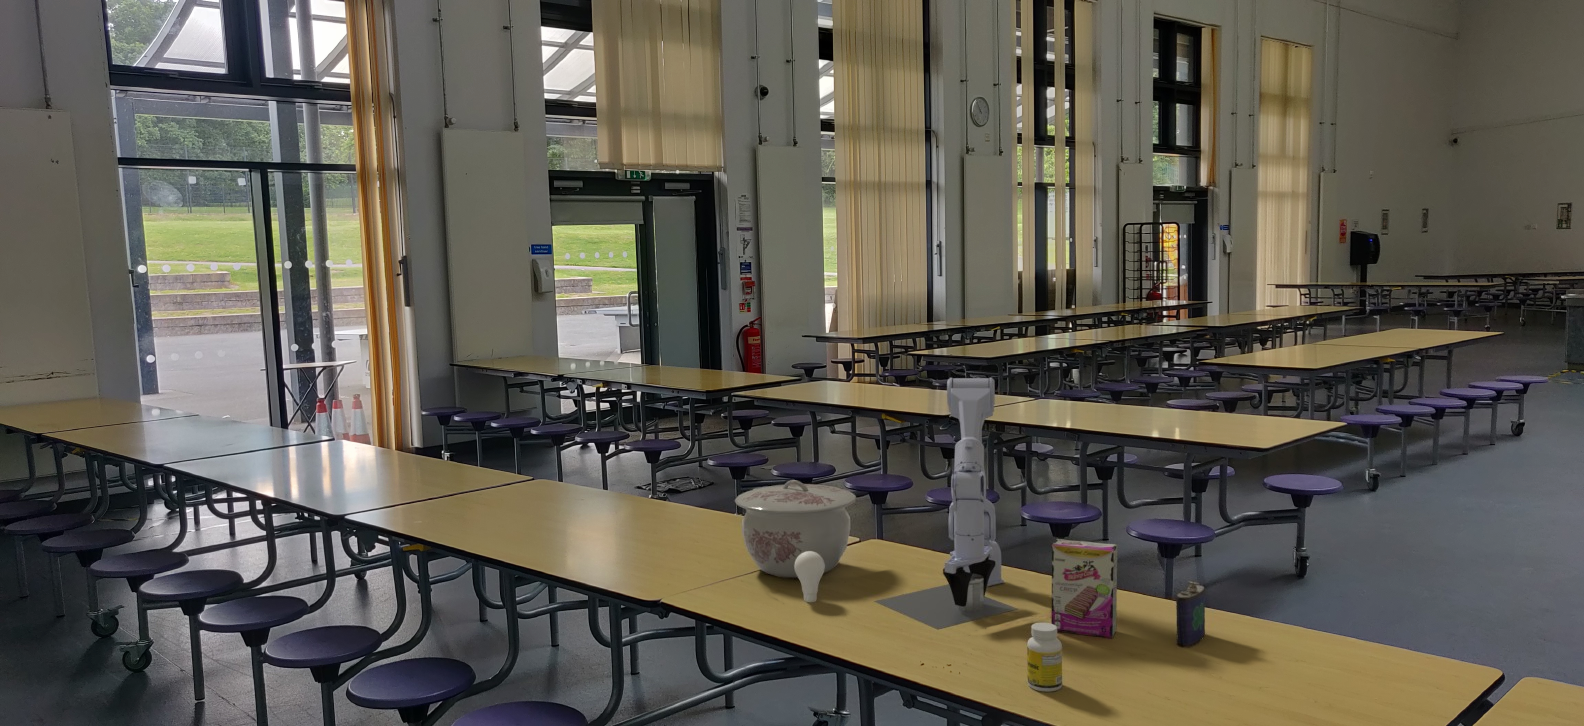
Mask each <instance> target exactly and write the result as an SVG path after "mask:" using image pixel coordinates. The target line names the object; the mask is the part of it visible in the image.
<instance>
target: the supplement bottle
mask: <svg viewBox="0 0 1584 726" xmlns="http://www.w3.org/2000/svg"><path fill="white" fill-rule="evenodd" d="M1057 637H1058V631H1057V627H1056V626H1055V625H1053V624H1051V622H1050V623H1049V622H1035V623H1033V624H1032V625H1031V637H1030V638H1029V639H1028V640H1027V644H1026V645H1027V646H1026V647H1027V648H1026V650H1027V651H1026V652H1027V653H1026V657H1027V658H1026V659H1027V660H1026V661H1027V662H1026V663H1027V684H1028V686H1029V687H1030V688H1031V689H1033V690H1035V691H1037V692H1043V693H1044V692H1046V693H1050V692H1056V691H1058V690H1061V688H1062V686H1063V645H1062V642H1061V640H1060V639H1058V638H1057Z"/></svg>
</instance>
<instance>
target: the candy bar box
mask: <svg viewBox="0 0 1584 726" xmlns="http://www.w3.org/2000/svg"><path fill="white" fill-rule="evenodd" d="M1117 581H1118V544H1115V543H1104V542H1103V543H1102V542H1092V541H1085V540H1084V541H1083V540H1073V539H1072V540H1071V539H1062V538H1056V540H1055V541H1054V542H1052V547H1051V607H1050V608H1051V614H1050V615H1051V621H1050V624H1053V625H1055V626H1056V627H1057V632H1061V633H1068V634H1069V633H1070V634H1076V635H1077V634H1078V635H1085V636H1091V637H1092V636H1093V637H1101V638H1108V639H1109V638H1110V639H1113V638H1114V635H1115V633H1116V631H1117V619H1118V618H1117V607H1118V606H1117V604H1118V603H1117V601H1118V600H1117V599H1118V598H1117V597H1118V595H1117V593H1118V592H1117V591H1118V589H1117V588H1118V582H1117Z"/></svg>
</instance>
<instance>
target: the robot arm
mask: <svg viewBox="0 0 1584 726" xmlns="http://www.w3.org/2000/svg"><path fill="white" fill-rule="evenodd" d="M995 386H996V385H995V379H993V377H989V378H987V377H986V378H985V377H984V378H983V377H981V378H980V377H979V378H977V377H976V378H975V377H973V378H969V377H968V378H965V377H964V378H963V377H962V378H961V377H960V378H958V377H957V378H953V377H949V378H948V379H947V383H946V393H947V394H946V401H947V402H946V403H947V405H948V406H947V407H948V412H949V414H950V416H951V417H953V418H956V419H958V421H959V425H960V438H961V439H960V440H959V441H957V442H956V443H955V445H954V463H953V465H954V466H953V467H954V468H953V473H952V475H951V481H950V483H951V485H950V486H951V487H950V489H951V491H950V493H951V498H952V502H951V503H950V505H949V511H948V512H949V513H948V538H949V539H950V540H951V541H954V550H953V551H950V552H949V556H950V558H949V559H948V560H946V561H945V562H944V568H943V569H942V575H943V576H944V577H945V580H946V581H947V583H948V584H949V585H950V588H951V591H952V595H953V599H954V602H955V605H958V606H962V607H964V606H966V603H967V594H968V586H969V582H970V579H971V577H972V574H978V575H981V576H983V586H984V596H985V597H986V591H987V588H988V587H992V586H996V585H1000V584H1003V583H1005V580H1004V579H1002V551H1001V548H1000V545H999V544H998V542H996V540H995V539H996V538H997V536H996V534H997V533H996V532H997V530H996V529H997V528H996V507H995V505H994V503H992V502H991V501H990V500H989V499H987V497H986V496H987V478H986V477H987V475H986V471H985V446H984V444H983V441H982V438H983V436H982V434H983V433H982V432H983V430H982V429H983V426H984V423H985V420H986V419H988V418H991V417H993V416H994V412H995V403H996V402H995V400H996V399H995V398H996V397H995V394H996V393H995Z"/></svg>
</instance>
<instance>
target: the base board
mask: <svg viewBox="0 0 1584 726" xmlns="http://www.w3.org/2000/svg"><path fill="white" fill-rule="evenodd" d="M873 603H876V604H879V605H881V606H882V607H885V608H887V609H890V610H892V611H894V612H897V613H899V614H901V615H904V616H905V617H908V618H911V619H913V620H915V621H918V622H920V623H922V624H924V625H926V626H929V627H931V628H933V629H936V630H942V629H946V628H949V627H953V626H957V625H961V624H965V623H969V622H972V621H977V620H981V619H984V618H988V617H993V616H996V615H1000V614H1004V613H1008V612H1011V611H1016V610H1018V608H1017V607H1014V606H1012V605H1008V604H1006V603H1003V602H1001V601H999V600H995V599H992V598H990V597H988V596H986V595H985V596H984V609H983V610H981V611H977V612H964V611H960V610H958V609H956V605H955V602H954V599H953V595H952V591H951V588H950V585H949V583H948V584H943V585H939V586H934V587H930V588H925V589H921V590H917V591H913V592H909V593H904V594H900V595H895V596H891V597H887V598H882V599H877V600H873Z"/></svg>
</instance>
